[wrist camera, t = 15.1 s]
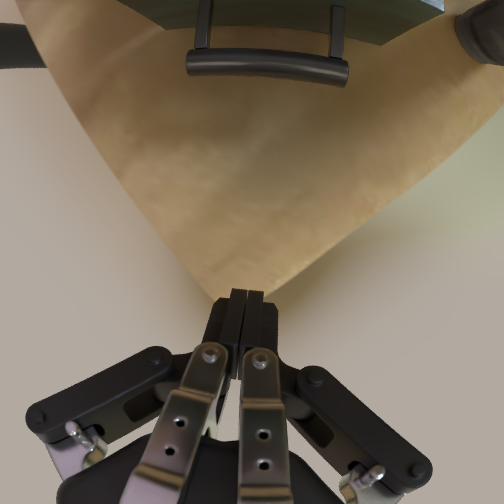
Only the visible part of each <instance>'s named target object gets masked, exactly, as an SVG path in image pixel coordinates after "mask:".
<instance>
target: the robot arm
mask: <svg viewBox="0 0 504 504" xmlns="http://www.w3.org/2000/svg"><path fill="white" fill-rule="evenodd" d="M247 291H248V290H244V289H235V288H232V291H231V295H230V299H229V298H221V297H220V298H219V299H218V300H217V301H216V302H215V303H214V304H213V307H212V310H211V314H210V317H209V320H208V323H207V327H206V330H205V333H204V336H203V340H202V343H201V344H200V345H198V346H197V347H196V348H195V349H194V351H193V352H190V353H187V354H178V355H172V354H171V352H170V351H169V350H168V349H166V348H164V347H161V346H152V347H149V348H146V349H145V350H142V351H141V352H139V353H137V354H135V355H133V356H131V357H129V358H127V359H125V360H123V361H121V362H119V363H117V364H115V365H113V366H111V367H109V368H107V369H105V370H104V371H101V372H100V373H97V374H95V375H93V376H92V377H89V378H87V379H86V380H83V381H81V382H79V383H77V384H75V385H73V386H71V387H69V388H67V389H65V390H62V391H61V392H58V393H56V394H54V395H52V396H50V397H48V398H45V399H43V400H41V401H39V402H37V403H34V404H33V405H32V406H30V407H29V408H28V410H27V413H26V423H27V426H28V428H29V429H30V430H31V431H32V432H33V433H35V434H36V435H37V436H38V437H39V438H40V439H41V440H42V441H43V442H44V444H45V446H46V448H47V450H48V452H49V454H50V457H51V459H52V461H53V463H54V465H55V467H56V469H57V471H58V473H59V475H60V477H61V479H62V480H63V482H62V484H61V485H60V487H59V488H58V491H57V497H56V503H57V504H344V503H343V502H342V500H341V499H340V498H339V497H338V496H337V495H336V494H335V493H334V492H333V491H332V490H331V489H330V488H329V487H328V486H327V485H326V484H325V483H324V482H323V481H322V480H321V478H320V477H319V476H318V475H317V474H316V473H315V472H314V471H313V470H312V469H311V467H310V466H309V465H308V464H307V463H306V462H305V461H304V460H303V459H302V458H301V457H299V456H298V455H296V454H294V453H293V452H291V451H289V450H288V436H287V422H286V418H287V420H288V421H289V422H290V423H291V424H292V425H293V426H294V428H295V429H296V430H297V431H298V432H299V433H300V434H301V435H302V436H303V437H304V438H305V439H306V440H307V442H308V443H309V444H310V445H311V446H312V447H313V448H314V449H315V450H316V451H317V452H318V453H319V454H320V455H321V456H322V457H323V458H324V459H325V460H326V461H327V462H328V463H329V464H330V465H331V466H332V467H333V468H334V469H335V470H336V471H337V472H338V473H339V474H340V475H341V476H342V478H341V480H340V482H339V490H340V492H341V494H342V495H343V496H344V498H345V500H346V504H397V503H398V502H399V501H400V499H401V498H402V497H403V496H404V495H405V494H407V493H410V492H411V491H413V490H416V489H418V488H420V487H422V486H424V485H425V484H426V483H427V482H428V481H429V480H430V478H431V476H432V471H433V468H432V464H431V462H430V460H429V459H428V458H427V457H426V456H424V455H423V454H422V453H421V452H420V451H418V450H417V449H416V448H415V447H414V446H412V445H411V444H410V443H409V442H408V441H406V440H405V439H404V438H403V437H402V436H400V435H399V434H398V433H397V432H395V430H393V429H392V428H391V427H390V426H389V425H388V424H386V423H385V422H384V421H383V420H382V419H381V418H380V417H378V416H377V415H376V414H375V413H374V412H372V410H370V409H369V408H368V407H367V406H366V405H365V404H364V403H362V402H361V401H360V400H359V399H358V398H357V397H356V396H354V395H353V394H352V393H351V392H350V391H349V390H348V389H347V388H346V387H344V385H342V384H341V383H340V382H339V381H338V380H337V379H336V378H335V377H333V375H331V374H330V373H329V372H328V371H327V370H325V369H324V368H322V367H319V366H307V367H304V368H303V369H301V370H299V369H296V368H293V367H290V366H288V365H286V364H285V363H283V362H282V360H281V359H280V358H279V356H278V352H277V345H278V343H277V342H278V310H277V308H276V306H275V304H274V303H267V302H263V296H264V291H254V290H249V291H248V297H247ZM238 364H239V365H238ZM237 370H238V380H241V389H240V406H239V429H238V440H236V441H225V442H223V441H218V440H217V434H218V428H219V424H220V420H221V416H222V413H223V409H224V406H225V402H226V399H227V395H228V390H229V387H230V381H231V379H236V377H237ZM159 415H160V416H159ZM158 416H159V418H158V421H157V423H156V425H155V427H154V430H153V432H152V433H150V434H147V435H144V436H142V437H140V438H138V439H136V440H135V441H133V442H132V443H130V444H128V445H127V446H125V447H123V448H122V449H120V450H118V451H117V452H115V453H113V454H112V455H110V456H108V457H106V458H105V459H103V458H104V457H105V455H106V453H107V445H108V444H110V443H112V442H114V441H115V440H117V439H119V438H121V437H123V436H125V435H127V434H128V433H130V432H132V431H134V430H135V429H137V428H139V427H141V426H142V425H144V424H146V423H147V422H149V421H151V420H153V419H154V418H156V417H158ZM102 459H103V460H102ZM100 460H101V461H100Z"/></svg>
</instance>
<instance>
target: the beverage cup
mask: <svg viewBox="0 0 504 504" xmlns="http://www.w3.org/2000/svg"><path fill="white" fill-rule="evenodd" d="M455 31H456V33H457V36H458V39H459V41H460V43H461V45H462V46H463V48H464V49H465V50H466V52H467V53H468V54H469V55H470V56H471V57H472V58H473V59H474V60H476V61H478V62H479V63H484V64H487V63H489V64H494V65H500V66H504V0H486V1H484V2H482V3H480V4H478V5H476V6H474V7H472V8H470V9H468V10H467V11H466V12H465V13H463V14H462V15H459V16H458V17H457V18H456V21H455Z"/></svg>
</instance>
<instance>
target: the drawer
mask: <svg viewBox="0 0 504 504" xmlns="http://www.w3.org/2000/svg"><path fill="white" fill-rule="evenodd" d="M117 1H119V2H121V3H123V4H124V5H126V6H128V7H130V8H132V9H133V10H135V11H137V12H138V13H140V14H142V15H143V16H145V17H147V18H148V19H150V20H152V21H153V22H155V23H156V24H158V25H159V26H161V27H162V28H164V29H165V30H171V29H179V28H188V27H196V34H195V44H194V48H195V49H192V50H189V51H188V53H187V56H186V71H187V74H188V76H190V77H195V76H248V77H266V78H278V79H288V80H297V81H304V82H312V83H318V84H324V85H330V86H335V87H341V88H344V87H345V85H346V83H347V80H348V74H349V65H348V62H347V61H346V60H342V59H343V50H344V37H348V38H352V39H357V40H361V41H364V42H368V43H372V44H375V45H379V46H381V45H383V44H385V43H387V42H388V41H390V40H392V39H394V38H395V37H397V36H399V35H401V34H403V33H405V32H407V31H408V30H410V29H412V28H414V27H416V26H418V25H420V24H422V23H424V22H426V21H428V20H430V19H432V18H434V17H437V16H439V15H441V14H443V13H445V10H444V2H443V0H117ZM217 25H258V26H275V27H287V28H296V29H304V30H311V31H317V32H323V33H329V48H328V57H326V56H321V55H314V54H308V53H300V52H292V51H282V50H270V49H252V48H210V49H209V47H210V37H211V27H212V26H217Z"/></svg>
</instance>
